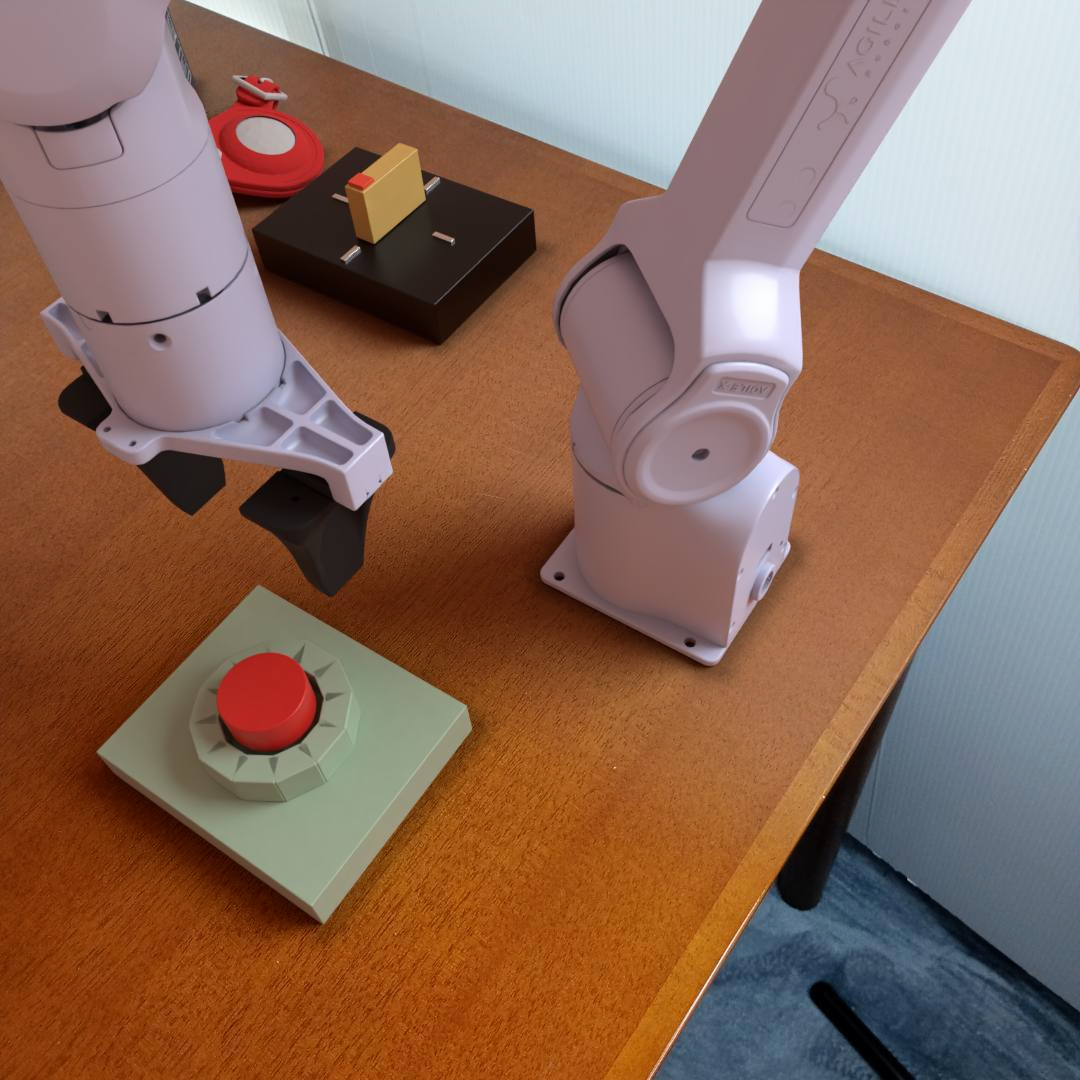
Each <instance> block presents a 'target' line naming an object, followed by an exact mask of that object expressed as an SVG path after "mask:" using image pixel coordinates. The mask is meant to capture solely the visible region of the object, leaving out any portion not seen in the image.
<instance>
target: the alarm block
mask: <svg viewBox="0 0 1080 1080" xmlns="http://www.w3.org/2000/svg"><path fill="white" fill-rule="evenodd" d="M268 652H273V653H280V654H284V655H286V656H289V657H291V658H293V659H294V660H295V661H297V662H298V663H299V664H300V665H301V667H302V668H303V670H304V672H305V674H306V676H307V678H308V680H309V683H310V685H311V687H312V689H313V691H314V694H315V697H316V713H315V716H314V719H313V721H312V723H311V725H310V727H309V728H308V730H307V731H306V732H305V733H304V734H303V735H302V736H301V737H300V738H299V739H298V740H297V741H295V742H294V743H292V744H290V745H289V746H287V747H284V748H282V749H278V750H274V751H255V750H251V749H249V748H246V747H244V746H243V745H241V744H240V743H239V742H237V740H236V739H235V738H234V737H233V735H232V734H231V732H230V730H229V729H228V727H227V726H226V724H225V722H224V721H223V719H222V718H221V716H220V714H219V712H218V708H217V702H216V700H217V692H218V688H219V685H220V683H221V681H222V679H223V678H224V676H225V675H226V674H227V672H228V671H229V670H230V669H231V668H232V667H233V666H235V665H236V664H237V663H239V662H240V661H242V660H243V659H245V658H247V657H250V656H252V655H256V654H260V653H268ZM472 731H473V727H472V722H471V718H470V714H469V709H468V705H467V704H464V703H462V702H461V701H459V700H457V699H456V698H455V697H452V696H451V695H449V694H448V693H446V692H444V691H442V690H440V689H439V688H437V687H435V686H434V685H432V684H430V683H428V682H427V681H425V680H423V679H422V678H420V677H418V676H416V675H415V674H414V673H412V672H410V671H408V670H407V669H404V668H403V667H401V666H400V665H398V664H396V663H394V662H393V661H390V660H389V659H388V658H385V657H384V656H382V655H381V654H379V653H377V652H375V651H373V650H372V649H370V648H368V647H367V646H365V645H363V644H362V643H360V642H358V641H357V640H355V639H353V638H351V637H349V636H348V635H346V634H344V633H343V632H341V631H339V630H338V629H336V628H334V627H332V626H331V625H329V624H327V623H325V622H324V621H323V620H321V619H318V618H317V617H316V616H314V615H312V614H310V613H308V612H306V611H305V610H304V609H302V608H300V607H298V606H296V605H295V604H292V603H291V602H289V601H288V600H286V599H284V598H283V597H281V596H279V595H278V594H276V593H274V592H272V591H270V590H269V589H267V588H266V587H264V586H262V585H260V584H257V585H256V586H255V587H254V588H253V589H252V590H251V591H250V592H249V593H248V594H247V596H246V597H244V598H243V600H242V601H241V602H239V604H238V605H236V607H235V608H234V609H233V610H232V611H231V612H230V613H229V614H228V615H227V616H226V617H225V618H223V620H222V621H221V622H220V623H219V624H218V626H216V628H215V629H213V631H211V632H210V634H208V636H207V637H205V638H204V640H203V641H202V642H201V643H200V644H199V645H198V646H197V647H196V648H195V649H194V650H193V651H192V652H191V653H190V654H189V655H188V656H187V657H186V658H185V659H184V660H183V661H182V662H181V663H180V665H179V666H178V667H176V669H174V671H173V672H172V673H171V674H170V675H169V676H168V677H167V678H166V679H165V680H164V681H163V682H162V683H161V684H160V685H159V686H158V687H157V689H155V690H154V691H153V692H152V693H151V694H150V695H149V697H147V699H145V700H144V701H143V702H142V704H141V705H140V706H139V707H138V708H137V709H136V710H135V711H134V712H133V713H132V714H131V715H130V716H129V717H128V718H127V719H126V720H125V721H124V722H123V723H122V724H121V725H120V726H119V728H117V730H115V732H113V734H112V735H111V736H110V737H109V738H108V739H107V740H106V741H105V742H104V743H103V744H102V745H101V746H100V747H99V748H98V749H97V750H96V754H97V755H98V757H99V758H100V759H101V761H103V762H104V763H105V765H106V766H107V767H108V768H109V769H110V771H112V773H113V774H115V775H116V777H118V778H119V779H121V780H122V781H124V782H125V783H126V784H128V785H129V786H131V787H132V788H134V790H136V791H138V792H139V793H140V794H141V795H143V796H144V797H146V798H147V799H148V800H150V801H151V802H152V803H154V804H155V805H156V806H158V807H160V808H161V809H162V810H164V811H165V812H167V814H169V815H171V816H172V817H174V818H175V819H176V820H178V821H179V822H180V823H182V824H183V825H184V826H186V827H188V828H189V829H190V830H192V831H193V832H194V833H196V834H197V835H198V836H200V837H202V838H203V839H204V840H205V841H207V842H208V843H209V844H211V845H212V846H213V847H215V848H216V849H218V850H219V851H221V852H222V853H223V854H224V855H226V856H228V857H229V858H230V859H231V860H233V861H234V862H235V863H237V864H238V865H239V866H241V867H243V868H244V869H245V870H246V871H248V872H249V873H251V874H252V875H254V877H257V878H258V879H259V880H260V881H261V882H263V883H264V884H265V885H267V886H269V887H270V888H271V889H273V890H274V891H276V892H277V893H278V894H280V895H281V896H282V897H284V898H285V899H287V900H288V901H289V902H291V903H292V904H293V905H295V906H296V907H298V908H299V909H301V910H302V911H303V912H304V913H306V914H308V916H310V917H312V918H313V919H315V921H317V922H319V923H320V924H321V925H325V923H326V922H327V921H328V920H329V918H330V917H331V916H332V914H333V913H334V912H335V910H336V909H337V908H338V907H339V905H340V904H341V903H342V901H343V900H344V898H345V897H346V896H347V895H348V893H349V892H350V891H351V889H352V888H353V886H355V884H356V883H357V882H358V881H359V879H360V877H362V875H363V873H364V872H365V871H366V870H367V868H369V866H370V865H371V863H372V862H373V860H374V859H375V858H376V857H377V855H378V854H379V853H380V852H381V850H382V849H383V848H384V846H385V845H386V843H387V842H388V841H389V840H390V838H391V837H392V836H393V835H394V833H395V832H396V830H397V829H398V828H399V826H400V825H401V823H402V822H403V821H404V820H405V818H406V817H408V814H409V813H410V812H411V811H412V809H413V808H414V807H415V805H416V804H417V803H418V802H419V801H420V799H421V798H422V796H423V795H424V793H426V791H427V790H428V788H429V787H430V786H431V784H433V782H434V780H435V779H436V778H437V777H438V776H439V774H440V772H441V771H442V770H443V768H444V767H445V766H446V764H447V763H449V761H450V760H451V758H452V757H453V756H454V754H455V753H456V751H458V749H459V747H460V746H461V745H462V744H463V742H464V741H465V740H466V738H467V737H468V736H469V734H470V733H471V732H472Z"/></svg>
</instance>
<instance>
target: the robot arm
mask: <svg viewBox="0 0 1080 1080" xmlns="http://www.w3.org/2000/svg"><path fill="white" fill-rule="evenodd" d="M171 1H172V0H0V181H1V183H2V185H3V187H4V189H5V191H6V192H7V195H8V196H9V198H10V200H11V202H12V204H13V206H14V208H15V210H16V212H17V213H18V215H19V217H20V219H21V221H22V223H23V225H24V227H25V229H26V230H27V232H28V234H29V236H30V239H31V240H32V242H33V244H34V246H35V248H36V250H37V252H38V254H39V256H40V258H41V259H42V262H43V263H44V265H45V267H46V269H47V271H48V272H49V275H50V276H51V278H52V280H53V282H54V284H55V286H56V288H57V290H58V292H59V294H60V296H61V297H58V298H57V299H56V300H55V301H54V302H52V303H51V304H49V305H48V306H47V307H46V308H43V310H41V311H40V312H39V313H38V314H39V317H40V318H41V319H42V322H43V324H44V325H45V328H46V329H47V331H48V334H49V335H50V337H51V338H52V340H53V341H54V344H55V346H56V348H57V349H58V351H59V353H61V354H63V355H64V356H66V357H68V358H70V359H72V360H73V361H80V362H81V364H82V365H81V366H80V368H79V370H80V371H81V373H82V374H80V375H79V376H78V377H77V378H75V379H74V380H73V381H72V382H70V383H69V384H68V385H66V386H65V387H64V388H63V389H62V391H61V392H60V394H59V395H58V398H57V407H58V408H59V410H60V412H61V414H63V415H65V416H66V417H68V418H70V419H72V420H73V421H75V422H77V423H78V424H80V425H82V426H84V427H85V428H88V429H89V430H91V431H94V432H95V436H96V438H97V440H98V442H99V443H100V445H101V447H103V449H104V450H105V451H106V452H108V453H109V454H111V455H113V456H115V457H117V458H118V459H120V460H122V461H123V462H125V463H127V464H129V465H132V466H136V467H137V468H138V469H139V470H140V472H141V473H142V474H143V475H144V476H146V478H147V479H148V480H149V481H150V482H151V483H152V484H153V485H154V486H155V488H157V489H158V490H159V491H160V492H161V494H163V496H164V497H166V499H168V500H169V502H171V503H172V505H174V506H175V507H176V508H178V509H179V510H180V511H182V512H183V513H185V514H187V515H189V516H190V517H193V516H194V515H195V514H196V513H197V512H199V511H200V510H201V509H202V508H203V507H204V506H205V505H206V504H207V503H208V502H209V501H211V500H212V498H214V497H215V496H216V495H217V494H218V493H219V492H220V491H221V490H222V489H224V488H225V487H226V486H227V479H226V471H225V466H224V461H223V459H224V460H230V461H235V462H243V463H249V464H254V465H262V466H267V467H273V468H278V469H279V468H280V470H276V471H275V472H274V473H273V474H272V476H270V477H269V478H268V479H267V480H265V482H263V484H262V485H261V486H259V487H258V489H257V490H256V491H254V492H253V494H251V495H250V496H249V497H248V498H247V499H246V500H245V501H244V502H243V503H241V504H240V505H239V507H238V511H239V513H240V516H242V517H243V518H245V519H246V520H248V521H249V522H252V523H254V524H256V525H257V526H259V527H260V528H262V529H264V530H265V531H267V532H269V533H271V534H272V535H274V537H276V538H277V540H279V541H280V542H281V543H282V544H283V546H284V547H285V548H286V549H287V551H288V552H289V554H291V556H292V558H293V559H294V562H295V563H296V564H297V566H298V568H299V570H300V571H301V572H302V574H303V576H304V578H305V579H306V580H307V581H308V583H309V584H310V585H311V586H312V587H313V588H315V589H316V590H317V591H318V592H320V593H322V594H323V595H325V596H327V597H328V598H334V597H335V596H336V595H338V593H339V592H340V591H341V590H342V589H343V587H345V586H346V584H347V583H348V582H349V581H350V580H351V579H352V578H353V577H354V576H355V575H356V574H357V572H359V571H360V569H362V567H363V566H364V563H365V562H364V561H365V547H366V546H365V544H366V533H367V527H368V521H369V520H368V519H369V514H370V510H371V507H372V502H373V501H374V496H375V494H376V492H377V491H378V489H379V488H380V487H381V486H382V485H383V484H384V483H385V482H386V481H387V480H388V479H389V478H390V476H392V474H393V473H394V469H393V465H392V462H391V460H392V458H393V457H394V455H395V453H396V449H397V447H396V443H395V439H394V436H393V433H392V431H391V430H390V429H389V427H388V426H387V425H385V424H384V423H381V422H379V421H377V420H375V419H373V418H372V417H370V416H367V415H365V414H363V413H361V412H359V411H357V410H354V411H353V412H352V411H351V410H350V408H349V407H348V406H346V405H345V403H344V402H343V401H342V400H341V399H340V397H339V396H338V395H337V394H336V393H335V392H334V391H333V389H332V388H331V387H330V386H329V385H328V384H327V383H326V381H325V380H324V379H323V377H321V376H320V375H319V373H318V372H317V371H316V370H315V368H313V366H311V364H310V363H309V362H308V361H307V360H306V359H305V358H304V356H303V355H302V353H300V352H299V350H298V349H297V348H296V347H295V346H294V345H293V343H292V342H291V341H290V340H289V338H287V337H286V335H285V334H284V333H283V332H282V330H280V329H279V328H278V327H277V324H276V321H275V318H274V315H273V311H272V308H271V304H270V303H269V300H268V296H267V293H266V291H265V287H264V285H263V281H262V278H261V275H260V273H259V269H258V267H257V263H256V261H255V257H254V255H253V251H252V248H251V246H250V241H249V239H248V237H247V234H246V231H245V228H244V225H243V222H242V219H241V216H240V214H239V210H238V207H237V204H236V202H235V198H234V195H233V192H232V191H231V189H230V186H229V183H228V180H227V177H226V174H225V171H224V168H223V165H222V162H221V159H220V156H219V153H218V150H217V147H216V144H215V141H214V138H213V135H212V132H211V128H210V125H209V123H208V120H209V119H208V116H207V114H206V113H207V112H206V110H205V108H204V104H203V102H202V100H201V98H200V97H199V96H198V93H197V91H196V89H195V87H194V88H193V87H192V86H191V85H190V83H189V82H188V81H187V79H186V77H185V75H184V72H183V69H182V66H181V63H180V60H179V57H178V54H177V51H176V48H175V45H174V42H173V39H172V37H171V34H170V31H169V28H168V25H167V22H166V19H165V14H166V10H167V7H168V8H169V5H170V3H171ZM972 1H973V0H761V2H760V4H759V6H758V8H757V10H756V11H755V14H754V15H753V17H752V20H751V22H750V23H749V26H748V28H747V30H746V32H745V34H744V36H743V37H742V40H741V42H740V43H739V45H738V47H737V48H736V51H735V54H734V56H733V57H732V59H731V60H730V61H731V62H730V63H729V65H728V67H727V69H726V71H725V74H724V75H723V77H722V79H721V82H720V83H719V86H718V87H717V89H716V91H715V93H714V96H713V97H712V99H711V101H710V103H709V105H708V106H707V109H706V111H705V113H704V115H703V117H702V119H701V121H700V123H699V125H698V127H697V129H696V131H695V133H694V135H693V138H692V139H691V141H690V143H689V145H688V147H687V149H686V151H685V152H684V155H683V157H682V159H681V161H680V163H679V165H678V167H677V169H676V171H675V172H674V174H673V176H672V179H671V181H670V183H669V185H668V187H667V188H666V191H665V192H664V193H662V194H658V195H653V196H648V197H642V198H636V199H631V200H628V201H625V202H623V203H622V204H621V205H620V206H619V207H618V209H617V211H616V214H615V216H614V218H613V220H612V222H611V224H610V226H609V227H608V229H607V230H606V233H605V234H604V235H603V237H602V238H601V240H600V241H599V242H598V243H597V244H596V245H595V246H594V247H593V249H591V250H590V251H589V252H588V253H587V254H585V255H584V256H583V257H582V258H581V259H580V260H578V261H577V262H576V263H575V264H574V265H573V266H572V267H571V269H569V270H568V272H567V273H566V274H565V276H564V278H563V279H562V281H561V282H560V283H559V285H558V288H557V290H556V292H555V295H554V298H553V303H552V310H551V311H552V312H551V319H552V325H553V328H554V332H555V334H556V337H557V339H558V341H559V342H560V344H561V345H562V346H563V347H564V348H565V350H566V351H567V353H568V356H569V358H570V359H571V362H572V365H573V368H574V370H575V372H576V375H577V377H578V379H579V382H580V383H579V387H578V390H577V394H576V397H575V400H574V403H573V406H572V409H571V414H570V419H569V439H570V441H569V442H570V457H571V458H570V459H571V460H570V461H571V476H572V477H571V478H572V493H573V494H572V495H573V496H572V497H573V511H574V512H573V514H574V516H573V517H574V526H573V528H572V529H571V531H570V532H569V533H568V535H567V536H566V537H565V538H564V540H563V541H562V542H561V543H560V544H559V546H558V547H557V549H556V550H555V551H553V553H552V554H551V556H550V557H549V558H548V559H547V560H546V562H545V564H543V566H542V567H541V569H540V571H539V573H540V574H539V575H540V580H541V582H543V583H544V584H545V585H547V586H550V587H552V588H553V589H555V590H557V591H559V592H561V593H563V594H565V595H567V596H568V597H571V598H573V599H574V600H577V601H578V602H581V603H582V604H584V605H586V606H588V607H590V608H592V609H594V610H597V611H598V612H600V613H602V614H604V615H606V616H608V617H610V618H612V619H614V620H616V621H618V622H620V623H621V624H624V625H625V626H627V627H630V628H631V629H633V630H635V631H637V632H639V633H641V634H643V635H645V636H647V637H649V638H651V639H653V640H655V641H657V642H659V643H661V644H663V645H665V646H667V647H669V648H671V649H672V650H675V651H676V652H678V653H680V654H682V655H684V656H686V657H688V658H690V659H692V660H694V661H696V662H698V663H700V664H702V665H704V666H706V667H707V666H708V667H714V666H715V665H716V666H717V664H719V662H720V661H721V660H722V658H723V657H724V655H725V654H726V653H727V650H728V649H729V647H730V646H731V645H732V643H733V641H734V640H735V638H736V636H737V635H738V634H739V632H740V630H741V629H742V627H743V625H744V624H745V622H746V621H747V619H748V618H749V617H750V614H752V611H753V610H754V608H755V607H756V605H757V604H758V603H759V602H760V601H761V600H762V599H763V598H764V596H765V595H766V593H767V592H768V589H770V586H771V584H772V582H773V580H774V577H775V576H776V574H777V573H778V571H779V570H780V568H781V566H782V564H784V562H785V560H786V558H787V557H788V555H789V554H790V551H791V543H790V542H789V540H788V539H789V535H790V530H791V525H792V520H793V515H794V512H795V511H794V510H795V505H796V502H797V501H796V500H797V496H798V491H799V486H800V480H801V479H800V478H801V476H800V475H801V474H800V470H799V468H797V466H796V465H794V464H792V463H791V462H789V461H787V460H785V459H784V458H782V457H780V456H778V455H777V454H776V453H774V452H773V451H771V450H770V449H771V447H772V446H773V444H774V442H775V439H776V436H777V433H778V427H779V417H780V410H781V408H782V405H783V402H784V401H785V397H787V394H788V393H789V391H790V389H791V388H792V386H793V385H794V384H795V382H796V381H797V379H798V378H799V376H800V375H801V373H802V371H803V361H804V360H803V358H804V354H803V353H804V352H803V350H804V349H803V335H802V334H803V333H802V331H803V330H802V319H801V318H802V317H801V316H802V315H801V297H800V275H801V274H800V273H801V271H802V268H803V267H804V266H805V264H806V262H807V261H808V259H809V257H810V256H811V254H812V252H813V251H814V250H815V248H816V247H817V245H818V244H819V242H820V240H821V239H822V237H823V236H824V234H825V232H826V231H827V229H828V228H829V226H830V224H831V223H832V222H833V220H834V218H835V217H836V215H837V214H838V212H839V210H840V209H841V207H842V206H843V204H844V202H845V201H846V200H847V198H848V196H849V194H850V193H851V191H852V190H853V188H854V187H855V185H856V184H857V182H858V180H859V179H860V177H861V176H862V174H863V172H864V171H865V170H866V168H867V167H868V165H869V164H870V161H871V160H872V158H874V155H875V154H876V152H877V151H878V149H879V148H880V146H881V144H882V142H883V141H884V139H885V138H886V137H887V136H888V133H889V132H890V130H891V129H892V127H893V125H894V124H895V122H896V121H897V119H898V117H899V116H900V114H901V113H902V111H903V110H904V108H905V107H906V105H907V104H908V102H909V100H910V99H911V97H912V96H913V94H914V92H915V91H916V90H917V88H918V86H919V84H920V83H921V82H922V80H923V78H925V75H926V73H927V72H928V70H929V69H930V68H931V66H932V64H933V63H934V61H935V59H936V58H937V56H938V55H939V54H940V51H941V50H942V49H943V47H944V46H945V44H946V42H947V41H948V39H949V37H950V36H951V34H952V33H953V31H954V30H955V28H956V26H957V25H958V23H959V22H960V20H962V19H961V18H963V15H964V14H965V12H966V11H967V9H968V8H969V6H970V4H971V3H972ZM559 577H561V578H563V579H562V580H557V578H559ZM687 643H692V644H694V645H693V646H691V647H690V646H687V645H686V644H687Z"/></svg>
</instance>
